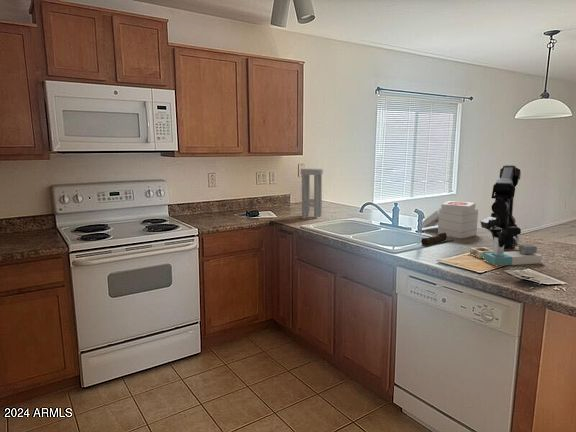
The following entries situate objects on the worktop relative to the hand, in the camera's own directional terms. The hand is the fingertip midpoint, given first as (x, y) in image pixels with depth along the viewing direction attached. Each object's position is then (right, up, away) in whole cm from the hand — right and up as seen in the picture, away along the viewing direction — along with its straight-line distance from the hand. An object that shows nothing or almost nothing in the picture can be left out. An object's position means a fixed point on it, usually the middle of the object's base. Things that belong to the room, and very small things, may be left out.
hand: (498, 246), depth 176 cm
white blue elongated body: (+29, 0, +43) cm, 52 cm away
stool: (-75, +13, +117) cm, 139 cm away
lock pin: (0, -4, +1) cm, 4 cm away
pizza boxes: (+2, +3, +61) cm, 61 cm away
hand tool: (-14, -1, +38) cm, 41 cm away
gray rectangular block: (+14, -7, +3) cm, 16 cm away
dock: (+8, -7, +2) cm, 11 cm away
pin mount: (-1, -5, +12) cm, 13 cm away
